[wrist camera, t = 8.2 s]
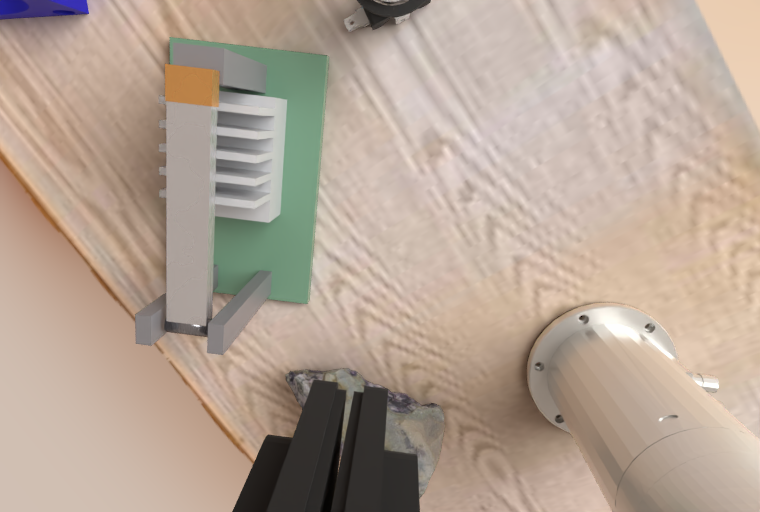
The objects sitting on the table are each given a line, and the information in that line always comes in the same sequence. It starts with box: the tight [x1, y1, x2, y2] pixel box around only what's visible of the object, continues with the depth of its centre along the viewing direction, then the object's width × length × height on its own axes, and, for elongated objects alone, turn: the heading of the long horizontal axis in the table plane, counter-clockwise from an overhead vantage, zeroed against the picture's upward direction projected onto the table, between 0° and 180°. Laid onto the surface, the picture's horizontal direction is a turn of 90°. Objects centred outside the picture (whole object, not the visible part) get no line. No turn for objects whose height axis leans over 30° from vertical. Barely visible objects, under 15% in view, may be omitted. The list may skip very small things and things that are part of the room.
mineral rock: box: [286, 368, 445, 498], centre depth 41 cm, size 13×11×10 cm
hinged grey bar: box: [164, 64, 220, 337], centre depth 31 cm, size 3×17×1 cm, turn 174°
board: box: [135, 37, 329, 355], centre depth 35 cm, size 12×20×12 cm, turn 173°
